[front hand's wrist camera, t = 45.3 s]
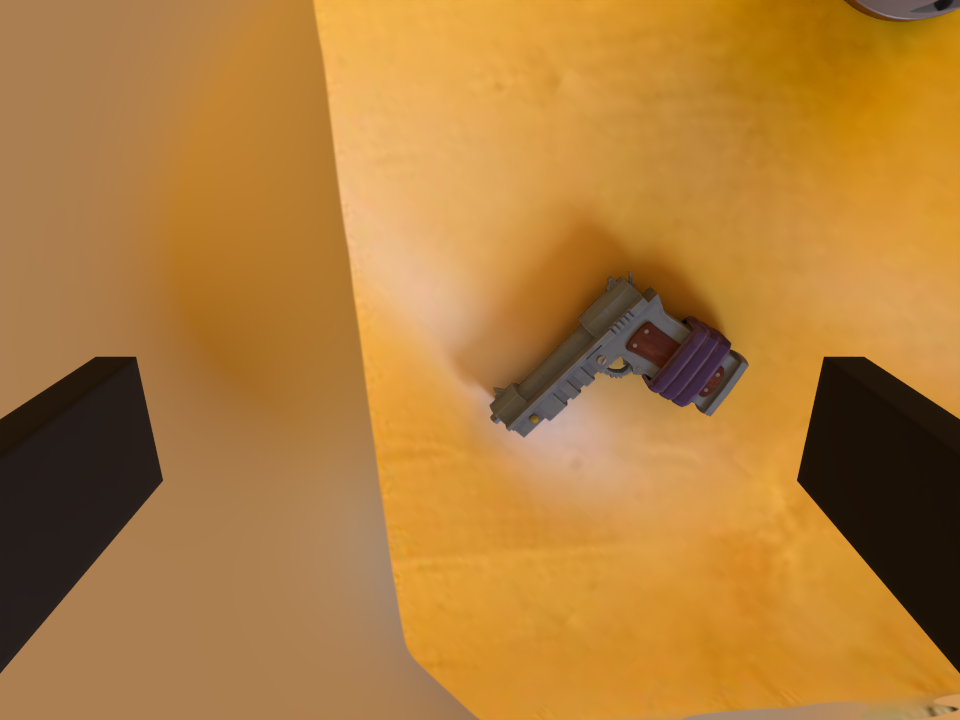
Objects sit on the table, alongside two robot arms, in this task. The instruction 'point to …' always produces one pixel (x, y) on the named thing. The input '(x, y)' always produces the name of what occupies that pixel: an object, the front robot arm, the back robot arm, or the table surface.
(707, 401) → the toy gun
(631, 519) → the table surface
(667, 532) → the table surface
